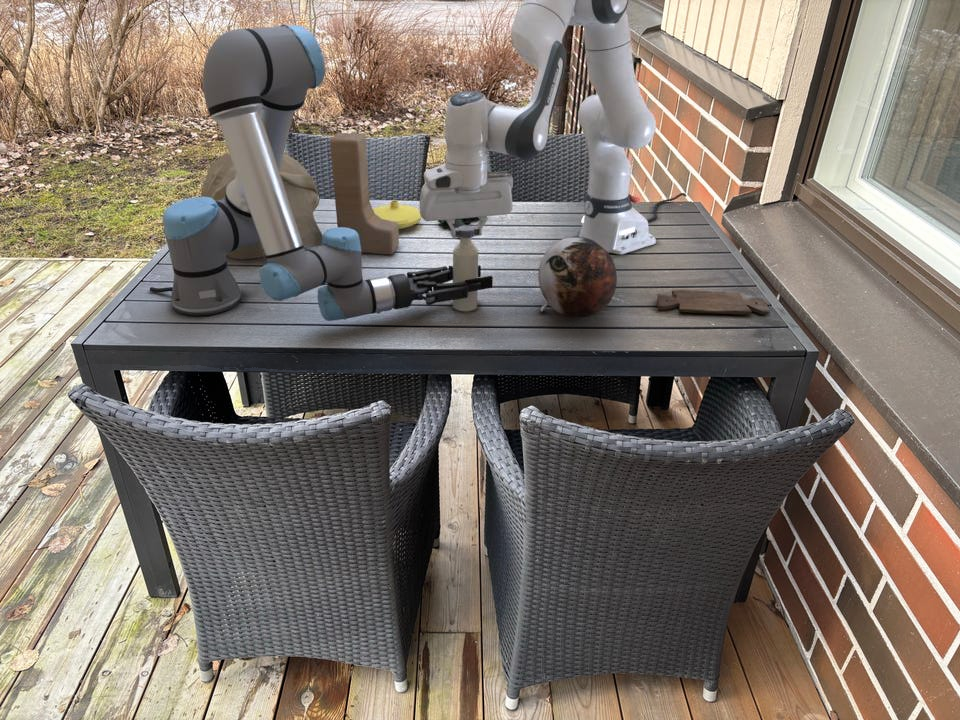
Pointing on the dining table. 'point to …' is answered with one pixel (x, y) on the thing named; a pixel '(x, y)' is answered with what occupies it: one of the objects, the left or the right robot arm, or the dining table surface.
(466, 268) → the bottle
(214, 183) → the helmet
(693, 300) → the dark wooden board
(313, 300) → the dining table surface
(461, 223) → the handgun
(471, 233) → the cap
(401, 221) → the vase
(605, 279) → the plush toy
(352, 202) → the decorative block
